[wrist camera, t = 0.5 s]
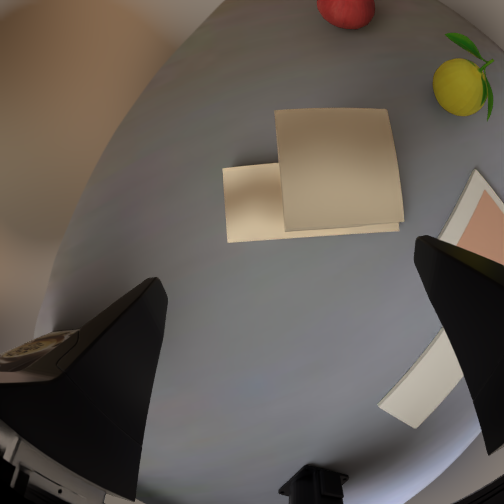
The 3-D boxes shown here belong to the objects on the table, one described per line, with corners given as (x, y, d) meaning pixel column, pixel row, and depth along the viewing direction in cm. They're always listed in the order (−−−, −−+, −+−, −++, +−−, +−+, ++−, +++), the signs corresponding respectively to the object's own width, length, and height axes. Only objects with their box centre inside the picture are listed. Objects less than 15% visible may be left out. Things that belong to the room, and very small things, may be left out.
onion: (326, 3, 22) (332, -44, 14) (372, 23, 21) (389, -22, 13) (306, 29, 22) (309, -22, 14) (357, 51, 22) (374, 2, 14)
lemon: (419, 66, 21) (458, 15, 11) (462, 89, 20) (509, 50, 11) (416, 114, 22) (466, 68, 12) (462, 138, 21) (520, 106, 11)
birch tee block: (390, 231, 23) (481, 229, 10) (232, 242, 24) (176, 250, 12) (383, 164, 23) (460, 109, 10) (227, 173, 24) (171, 115, 11)
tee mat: (439, 440, 23) (441, 443, 22) (332, 375, 24) (334, 378, 23) (547, 281, 20) (550, 281, 19) (472, 170, 21) (476, 169, 20)
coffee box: (99, 324, 26) (-16, 380, 10) (118, 378, 27) (24, 456, 11) (50, 330, 28) (-47, 370, 12) (67, 376, 28) (-18, 431, 12)
